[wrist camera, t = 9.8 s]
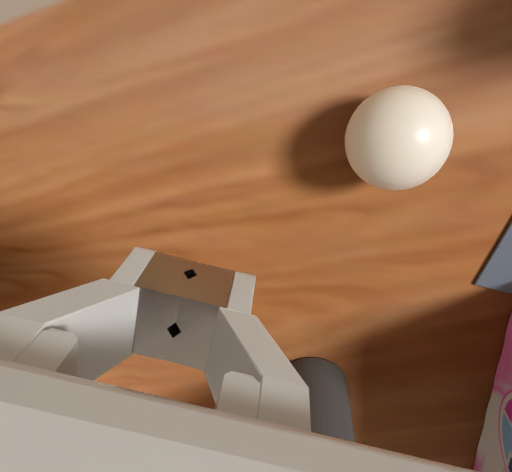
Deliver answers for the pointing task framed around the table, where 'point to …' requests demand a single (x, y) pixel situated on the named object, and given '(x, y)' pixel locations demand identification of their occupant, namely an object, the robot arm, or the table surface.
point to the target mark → (499, 266)
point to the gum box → (498, 417)
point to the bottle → (327, 397)
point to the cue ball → (398, 137)
